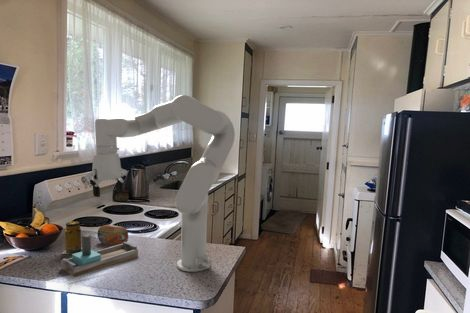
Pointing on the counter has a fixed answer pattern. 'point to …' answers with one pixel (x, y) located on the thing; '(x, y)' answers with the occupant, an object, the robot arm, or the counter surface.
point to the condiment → (72, 238)
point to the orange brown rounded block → (112, 235)
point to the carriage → (85, 253)
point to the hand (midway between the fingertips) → (108, 194)
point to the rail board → (102, 259)
